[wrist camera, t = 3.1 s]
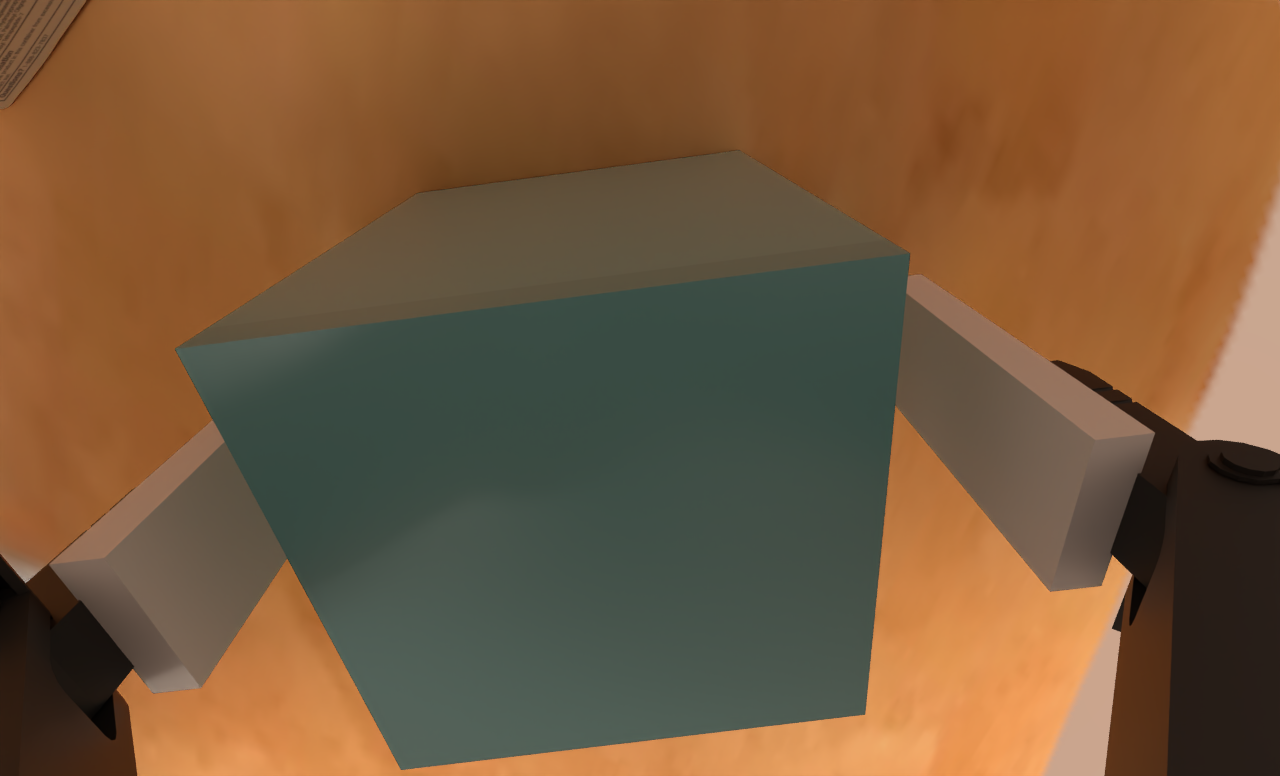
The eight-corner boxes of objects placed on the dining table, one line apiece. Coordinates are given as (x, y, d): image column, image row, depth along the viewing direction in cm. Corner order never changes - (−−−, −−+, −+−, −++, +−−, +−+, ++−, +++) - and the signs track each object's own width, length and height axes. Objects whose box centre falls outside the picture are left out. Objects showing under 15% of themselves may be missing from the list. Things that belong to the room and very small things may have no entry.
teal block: (493, 457, 19) (401, 769, 10) (417, 192, 15) (175, 349, 7) (749, 425, 19) (864, 714, 10) (739, 150, 15) (909, 253, 7)
